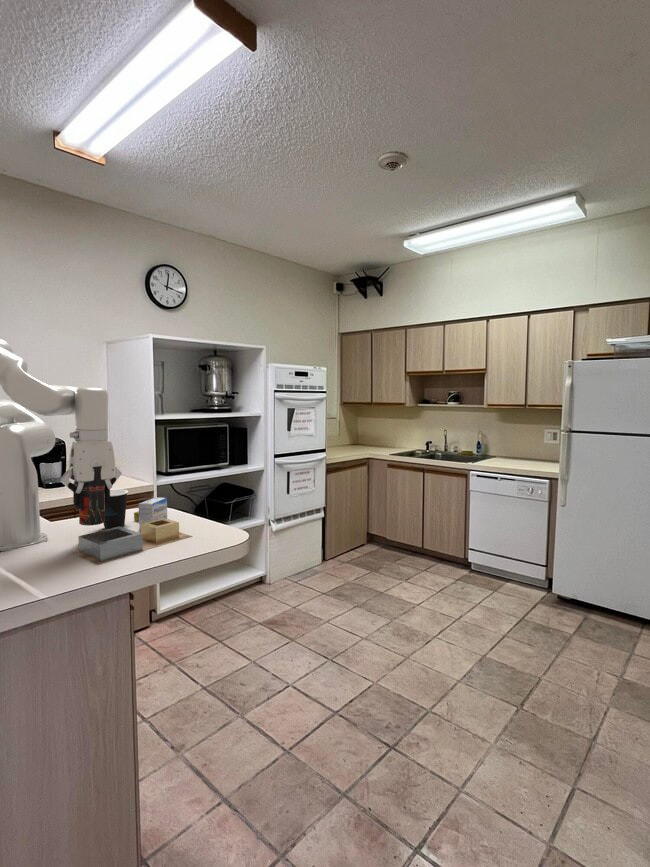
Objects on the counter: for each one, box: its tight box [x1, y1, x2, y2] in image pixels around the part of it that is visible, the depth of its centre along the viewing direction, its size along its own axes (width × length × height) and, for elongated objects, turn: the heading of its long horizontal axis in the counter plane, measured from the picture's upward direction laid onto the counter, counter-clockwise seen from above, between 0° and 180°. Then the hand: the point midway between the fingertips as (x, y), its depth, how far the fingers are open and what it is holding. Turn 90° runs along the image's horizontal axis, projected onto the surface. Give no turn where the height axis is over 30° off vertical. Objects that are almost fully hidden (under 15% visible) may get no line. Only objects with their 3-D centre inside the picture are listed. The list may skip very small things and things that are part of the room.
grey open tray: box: [78, 526, 143, 562], centre depth 114 cm, size 10×10×4 cm
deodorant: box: [78, 466, 105, 527], centre depth 120 cm, size 6×6×15 cm
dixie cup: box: [103, 488, 129, 529], centre depth 135 cm, size 8×8×11 cm
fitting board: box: [72, 531, 194, 565], centre depth 119 cm, size 12×26×1 cm, turn 142°
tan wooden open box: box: [140, 518, 180, 543], centre depth 125 cm, size 7×7×4 cm
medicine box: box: [137, 497, 168, 531], centre depth 135 cm, size 8×4×9 cm, turn 168°
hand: (92, 504), depth 121 cm, fingers closed on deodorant, 5 cm apart
